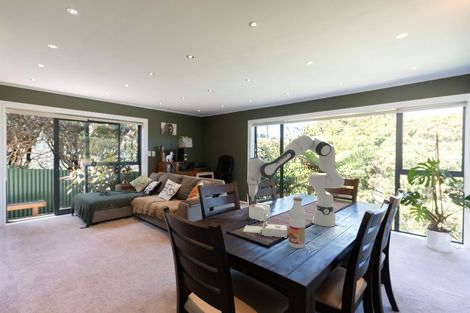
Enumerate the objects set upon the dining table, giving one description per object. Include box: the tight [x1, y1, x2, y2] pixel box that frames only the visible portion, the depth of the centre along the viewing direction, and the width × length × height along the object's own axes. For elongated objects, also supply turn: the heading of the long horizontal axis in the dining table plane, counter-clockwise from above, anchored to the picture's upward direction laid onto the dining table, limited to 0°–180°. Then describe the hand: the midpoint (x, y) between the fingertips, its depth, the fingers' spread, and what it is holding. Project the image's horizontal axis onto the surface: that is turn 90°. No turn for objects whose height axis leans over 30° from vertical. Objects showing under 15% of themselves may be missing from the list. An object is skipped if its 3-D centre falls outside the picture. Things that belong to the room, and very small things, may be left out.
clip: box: [263, 211, 268, 226], centre depth 154 cm, size 2×11×7 cm, turn 170°
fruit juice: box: [287, 196, 306, 249], centre depth 131 cm, size 9×9×28 cm
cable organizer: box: [248, 202, 271, 222], centre depth 182 cm, size 15×11×12 cm
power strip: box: [261, 223, 288, 239], centre depth 149 cm, size 9×16×6 cm, turn 78°
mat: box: [242, 224, 262, 235], centre depth 156 cm, size 12×12×1 cm
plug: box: [249, 194, 262, 207], centre depth 155 cm, size 5×8×8 cm, turn 78°
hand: (253, 200), depth 155 cm, fingers closed on plug, 5 cm apart
